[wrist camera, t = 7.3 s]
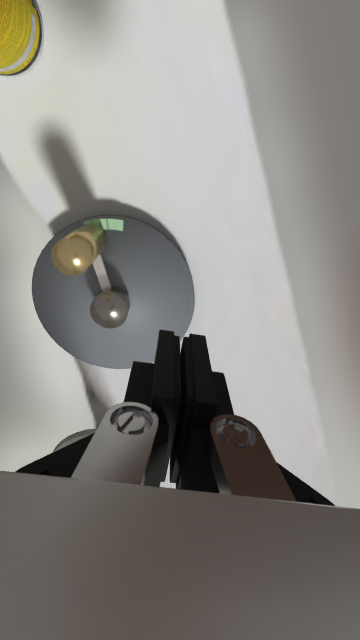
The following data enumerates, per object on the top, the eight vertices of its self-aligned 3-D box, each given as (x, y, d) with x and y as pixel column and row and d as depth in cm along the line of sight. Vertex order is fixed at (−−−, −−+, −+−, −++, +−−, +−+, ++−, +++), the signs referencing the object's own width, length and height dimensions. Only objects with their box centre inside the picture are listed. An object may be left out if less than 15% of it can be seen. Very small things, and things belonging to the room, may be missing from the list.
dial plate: (159, 380, 34) (159, 389, 32) (22, 332, 31) (15, 339, 30) (220, 255, 28) (222, 259, 27) (60, 185, 26) (53, 186, 25)
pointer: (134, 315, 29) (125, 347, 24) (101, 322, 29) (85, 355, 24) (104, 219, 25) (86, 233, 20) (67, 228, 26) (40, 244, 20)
